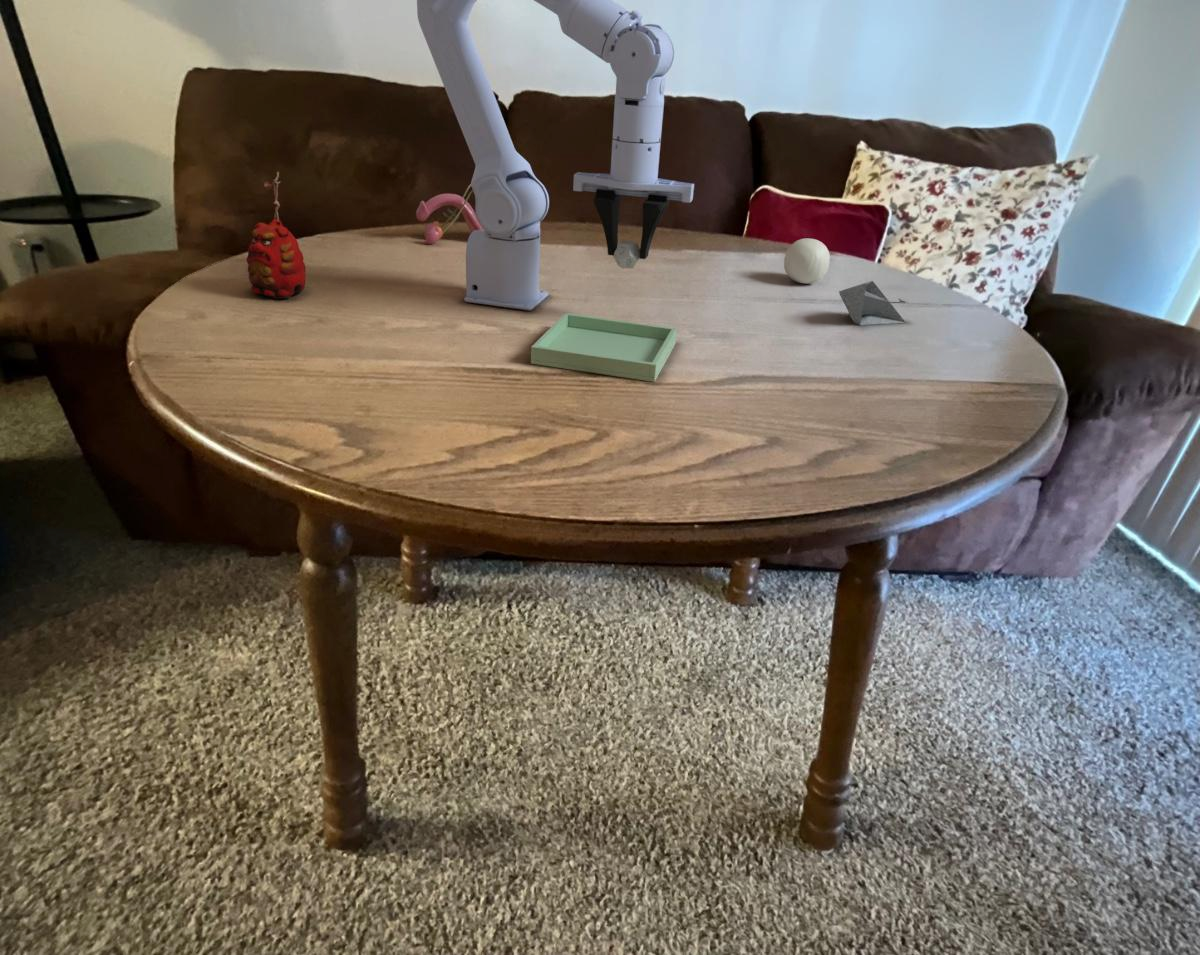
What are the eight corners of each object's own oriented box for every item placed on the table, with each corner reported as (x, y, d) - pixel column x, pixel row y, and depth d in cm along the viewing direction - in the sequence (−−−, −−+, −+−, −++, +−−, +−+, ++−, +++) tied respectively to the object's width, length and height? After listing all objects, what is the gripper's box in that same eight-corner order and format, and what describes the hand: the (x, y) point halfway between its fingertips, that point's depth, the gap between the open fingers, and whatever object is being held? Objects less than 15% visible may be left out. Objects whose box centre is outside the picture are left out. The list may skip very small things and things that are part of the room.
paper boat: (870, 299, 121) (932, 298, 115) (859, 341, 121) (921, 342, 114) (830, 262, 113) (894, 258, 106) (817, 307, 112) (881, 306, 106)
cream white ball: (832, 281, 133) (840, 238, 130) (816, 291, 127) (824, 246, 124) (791, 273, 136) (798, 231, 133) (774, 282, 131) (781, 238, 127)
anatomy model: (403, 214, 143) (461, 145, 140) (464, 267, 150) (521, 203, 147) (406, 228, 134) (468, 155, 131) (471, 284, 141) (532, 216, 138)
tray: (530, 363, 95) (531, 346, 94) (564, 328, 106) (564, 312, 105) (654, 382, 92) (656, 364, 91) (675, 343, 103) (677, 328, 102)
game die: (607, 263, 108) (608, 239, 106) (633, 262, 109) (635, 238, 108) (619, 270, 105) (620, 246, 104) (645, 269, 106) (647, 245, 105)
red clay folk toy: (238, 294, 110) (220, 174, 103) (275, 282, 116) (260, 167, 109) (285, 304, 108) (270, 181, 101) (321, 290, 114) (309, 174, 107)
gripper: (701, 141, 102) (689, 254, 108) (585, 131, 105) (580, 242, 111) (693, 148, 96) (681, 267, 102) (570, 137, 99) (566, 254, 105)
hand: (628, 255), depth 106 cm, fingers closed on game die, 3 cm apart
